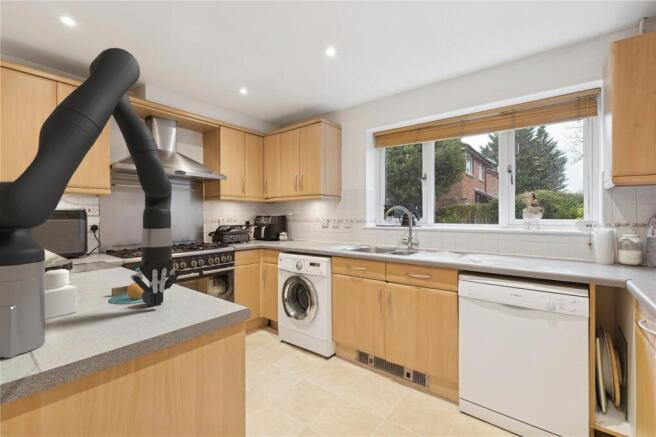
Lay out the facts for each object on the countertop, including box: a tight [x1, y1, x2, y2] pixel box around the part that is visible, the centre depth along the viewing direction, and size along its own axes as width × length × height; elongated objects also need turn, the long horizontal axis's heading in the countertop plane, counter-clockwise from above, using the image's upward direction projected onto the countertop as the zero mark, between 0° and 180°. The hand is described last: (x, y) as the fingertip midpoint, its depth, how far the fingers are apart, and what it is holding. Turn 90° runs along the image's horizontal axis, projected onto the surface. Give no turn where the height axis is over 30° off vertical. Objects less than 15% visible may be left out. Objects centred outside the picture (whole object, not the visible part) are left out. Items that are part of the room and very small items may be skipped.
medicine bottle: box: [45, 267, 78, 321], centre depth 81 cm, size 7×7×12 cm
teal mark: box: [108, 294, 144, 305], centre depth 97 cm, size 14×14×1 cm
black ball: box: [142, 291, 154, 306], centre depth 90 cm, size 6×6×6 cm
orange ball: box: [127, 281, 144, 300], centre depth 96 cm, size 6×6×6 cm
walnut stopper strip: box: [111, 285, 130, 297], centre depth 102 cm, size 9×1×2 cm, turn 139°
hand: (156, 305), depth 86 cm, fingers closed
